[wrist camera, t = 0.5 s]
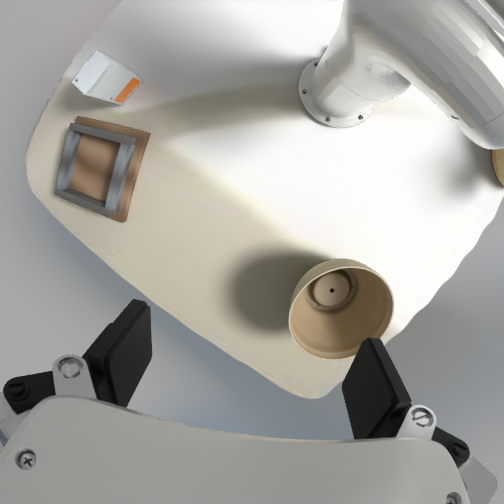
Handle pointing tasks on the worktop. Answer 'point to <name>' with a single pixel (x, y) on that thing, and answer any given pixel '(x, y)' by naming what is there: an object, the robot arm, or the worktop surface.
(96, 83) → the skincare box
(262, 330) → the worktop surface
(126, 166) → the socket stand
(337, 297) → the planter bowl
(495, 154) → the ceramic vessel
